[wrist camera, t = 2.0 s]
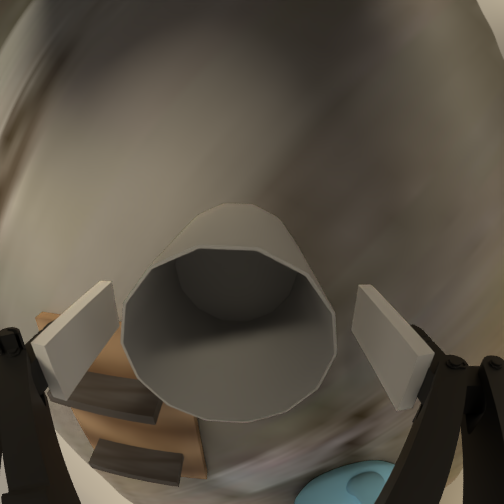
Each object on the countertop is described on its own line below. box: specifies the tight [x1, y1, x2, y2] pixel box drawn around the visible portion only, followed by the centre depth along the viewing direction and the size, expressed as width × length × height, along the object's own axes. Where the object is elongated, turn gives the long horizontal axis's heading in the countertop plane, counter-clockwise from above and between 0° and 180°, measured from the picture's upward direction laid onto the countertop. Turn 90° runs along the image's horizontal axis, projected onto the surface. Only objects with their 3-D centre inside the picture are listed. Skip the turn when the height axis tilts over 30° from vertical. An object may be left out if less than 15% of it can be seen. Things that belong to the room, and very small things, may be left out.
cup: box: [120, 203, 337, 423], centre depth 15 cm, size 8×8×10 cm
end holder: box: [35, 312, 207, 487], centre depth 22 cm, size 22×14×5 cm, turn 179°
